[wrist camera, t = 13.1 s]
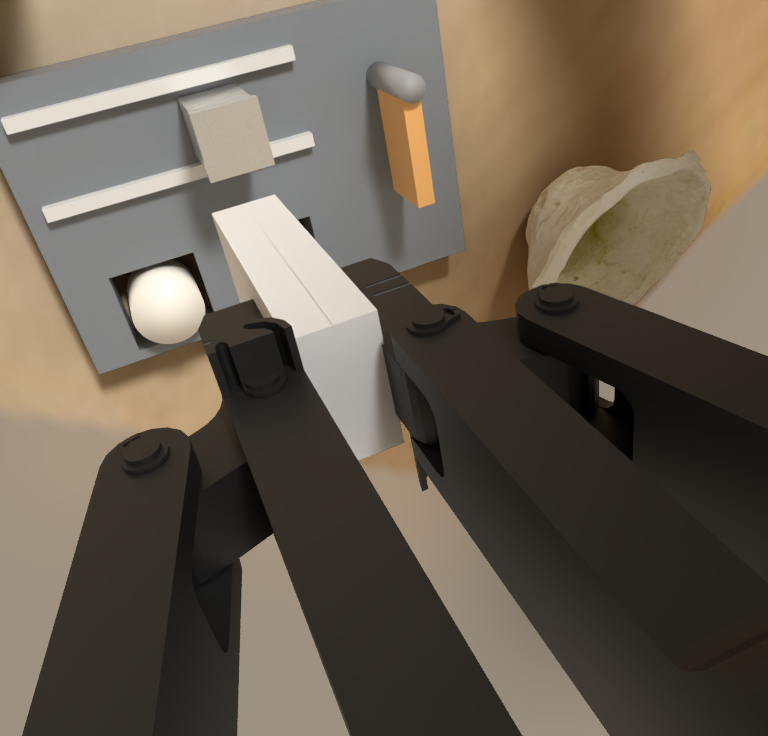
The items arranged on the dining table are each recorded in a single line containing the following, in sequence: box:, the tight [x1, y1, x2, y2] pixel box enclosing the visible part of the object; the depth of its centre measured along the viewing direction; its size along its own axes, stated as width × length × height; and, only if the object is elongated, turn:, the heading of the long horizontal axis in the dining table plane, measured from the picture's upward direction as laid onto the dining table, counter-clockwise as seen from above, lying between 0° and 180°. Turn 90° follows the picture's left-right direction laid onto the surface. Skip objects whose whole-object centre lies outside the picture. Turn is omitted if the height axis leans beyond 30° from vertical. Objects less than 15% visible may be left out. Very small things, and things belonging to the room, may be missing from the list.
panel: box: [0, 0, 466, 374], centre depth 41 cm, size 16×24×3 cm, turn 100°
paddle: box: [367, 62, 435, 208], centre depth 39 cm, size 7×1×5 cm, turn 10°
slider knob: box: [177, 83, 275, 183], centre depth 36 cm, size 3×3×5 cm
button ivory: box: [127, 259, 205, 344], centre depth 42 cm, size 4×4×3 cm
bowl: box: [526, 150, 711, 305], centre depth 49 cm, size 15×14×10 cm
